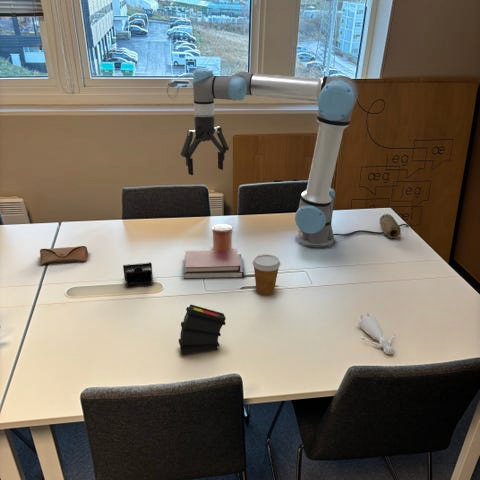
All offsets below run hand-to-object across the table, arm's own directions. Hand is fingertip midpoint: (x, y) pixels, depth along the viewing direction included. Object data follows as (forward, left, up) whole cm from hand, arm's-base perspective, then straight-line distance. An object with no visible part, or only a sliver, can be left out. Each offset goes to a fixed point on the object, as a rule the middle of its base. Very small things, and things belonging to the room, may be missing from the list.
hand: (205, 171), depth 200 cm
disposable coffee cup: (-20, +46, -29) cm, 58 cm away
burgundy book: (-2, +29, -26) cm, 39 cm away
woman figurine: (-51, +77, -29) cm, 97 cm away
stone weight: (-80, -3, -29) cm, 85 cm away
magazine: (+2, +80, -29) cm, 85 cm away
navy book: (-2, +29, -29) cm, 41 cm away
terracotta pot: (-6, +13, -28) cm, 32 cm away
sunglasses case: (+56, +19, -29) cm, 66 cm away
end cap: (+25, +38, -29) cm, 54 cm away
